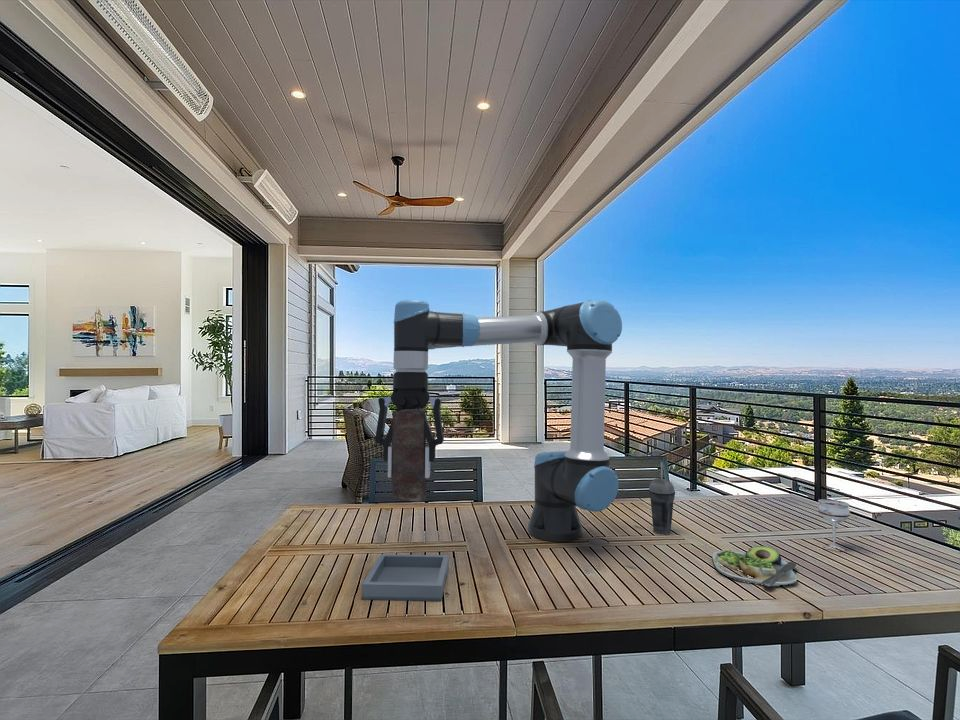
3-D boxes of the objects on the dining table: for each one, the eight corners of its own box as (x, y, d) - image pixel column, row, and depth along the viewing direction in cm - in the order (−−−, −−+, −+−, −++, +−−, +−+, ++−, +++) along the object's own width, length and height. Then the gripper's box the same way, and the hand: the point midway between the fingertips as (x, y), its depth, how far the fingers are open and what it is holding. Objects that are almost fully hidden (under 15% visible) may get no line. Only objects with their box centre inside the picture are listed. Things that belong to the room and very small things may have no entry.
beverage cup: (648, 534, 135) (647, 463, 136) (649, 526, 142) (648, 459, 142) (675, 537, 132) (675, 465, 133) (675, 530, 139) (675, 461, 140)
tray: (448, 568, 110) (449, 555, 111) (441, 601, 94) (441, 585, 95) (380, 567, 111) (380, 554, 111) (361, 599, 95) (362, 584, 95)
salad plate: (813, 601, 96) (813, 578, 96) (715, 585, 103) (715, 563, 103) (793, 566, 114) (792, 546, 114) (710, 554, 121) (710, 536, 121)
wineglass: (852, 548, 125) (851, 502, 125) (849, 555, 120) (848, 507, 120) (820, 542, 130) (819, 497, 130) (816, 548, 125) (815, 502, 125)
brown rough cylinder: (396, 506, 98) (398, 409, 99) (386, 498, 105) (388, 406, 105) (431, 502, 102) (432, 408, 102) (419, 494, 108) (420, 406, 109)
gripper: (458, 371, 108) (456, 473, 107) (369, 370, 108) (367, 472, 107) (455, 371, 100) (454, 481, 99) (360, 370, 101) (358, 479, 100)
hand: (409, 476), depth 103 cm, fingers closed on brown rough cylinder, 7 cm apart
